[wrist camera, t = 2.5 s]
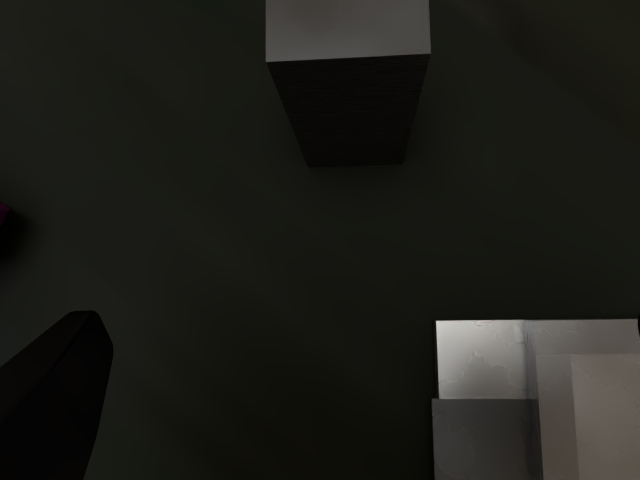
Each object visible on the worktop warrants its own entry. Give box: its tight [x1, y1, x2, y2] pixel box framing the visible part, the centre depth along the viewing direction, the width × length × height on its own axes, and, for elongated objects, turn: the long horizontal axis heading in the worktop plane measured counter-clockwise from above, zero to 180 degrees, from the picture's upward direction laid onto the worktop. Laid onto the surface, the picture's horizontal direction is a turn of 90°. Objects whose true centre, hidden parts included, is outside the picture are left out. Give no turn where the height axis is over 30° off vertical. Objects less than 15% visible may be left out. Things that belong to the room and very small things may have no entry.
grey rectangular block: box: [266, 0, 431, 167], centre depth 18 cm, size 4×4×10 cm
